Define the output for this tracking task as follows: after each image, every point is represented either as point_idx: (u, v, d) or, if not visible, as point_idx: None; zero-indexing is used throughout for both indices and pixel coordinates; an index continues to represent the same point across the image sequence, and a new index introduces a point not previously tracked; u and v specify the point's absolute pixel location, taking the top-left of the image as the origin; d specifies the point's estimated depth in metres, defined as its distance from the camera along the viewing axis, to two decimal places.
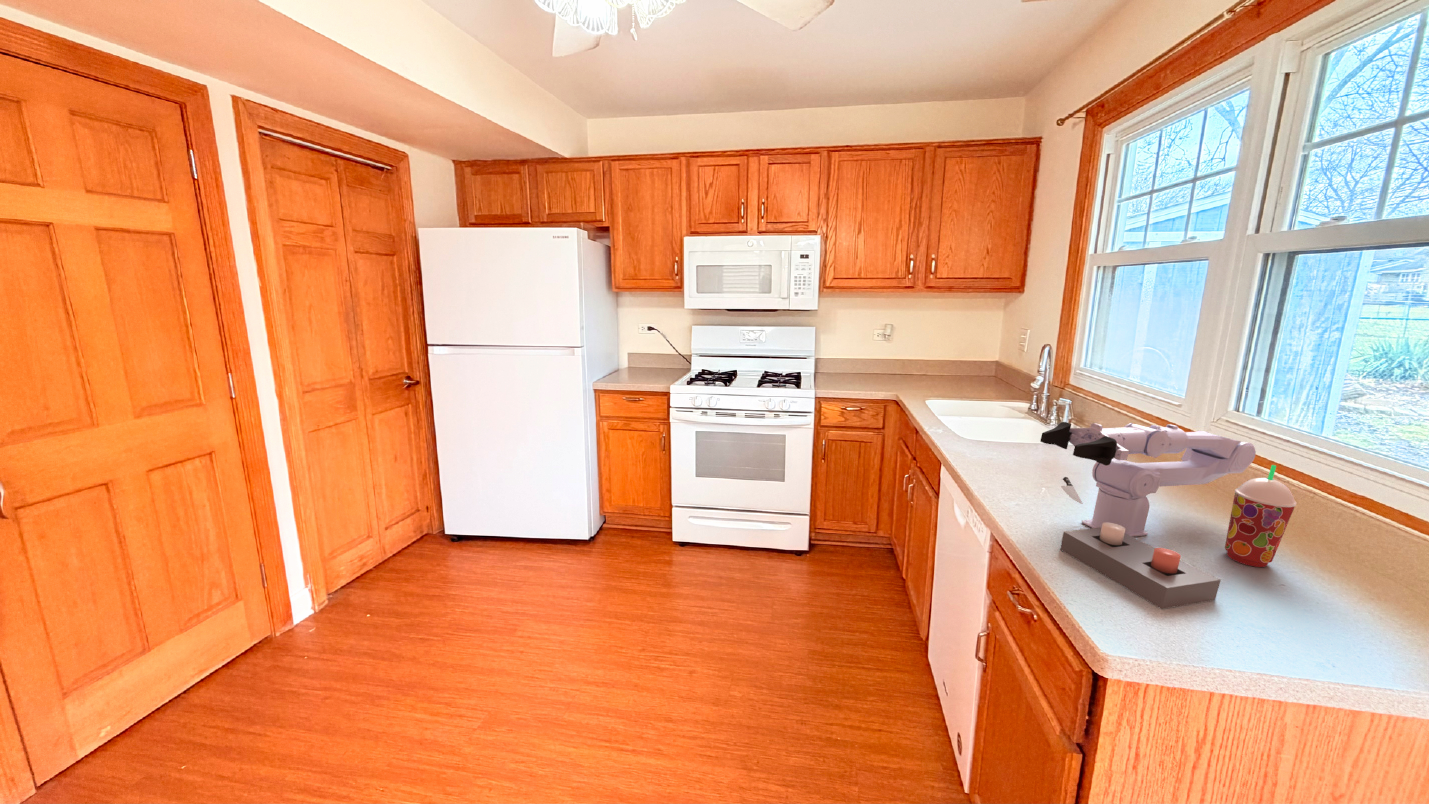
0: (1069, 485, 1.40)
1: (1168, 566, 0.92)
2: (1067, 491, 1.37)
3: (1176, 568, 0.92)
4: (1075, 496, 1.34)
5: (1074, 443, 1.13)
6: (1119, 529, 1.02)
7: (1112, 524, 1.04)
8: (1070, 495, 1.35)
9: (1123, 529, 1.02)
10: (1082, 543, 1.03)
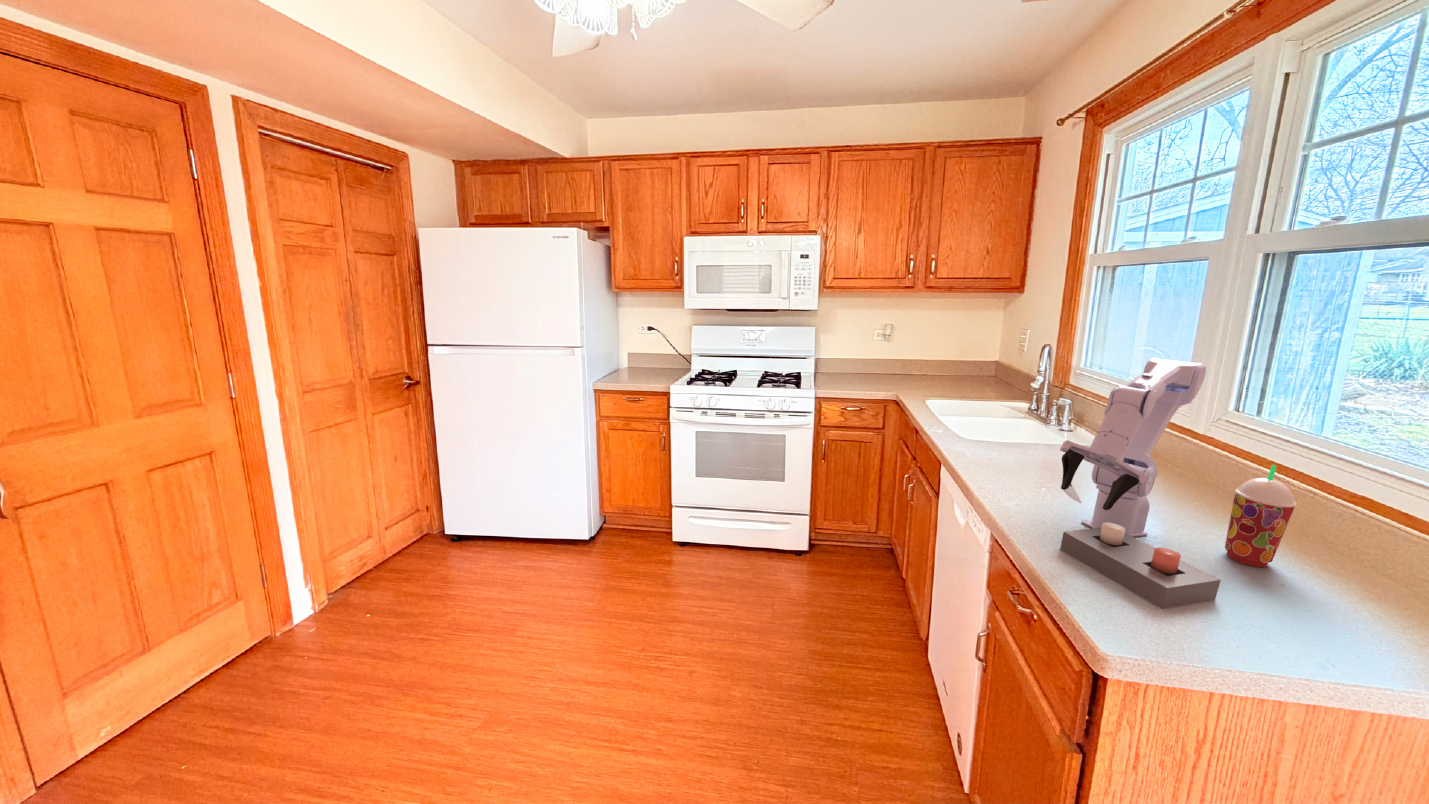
0: None
1: (1168, 566, 0.92)
2: (1067, 491, 1.37)
3: (1176, 568, 0.92)
4: (1075, 496, 1.34)
5: None
6: (1119, 529, 1.02)
7: (1112, 524, 1.04)
8: (1069, 495, 1.35)
9: (1123, 529, 1.02)
10: (1082, 543, 1.03)
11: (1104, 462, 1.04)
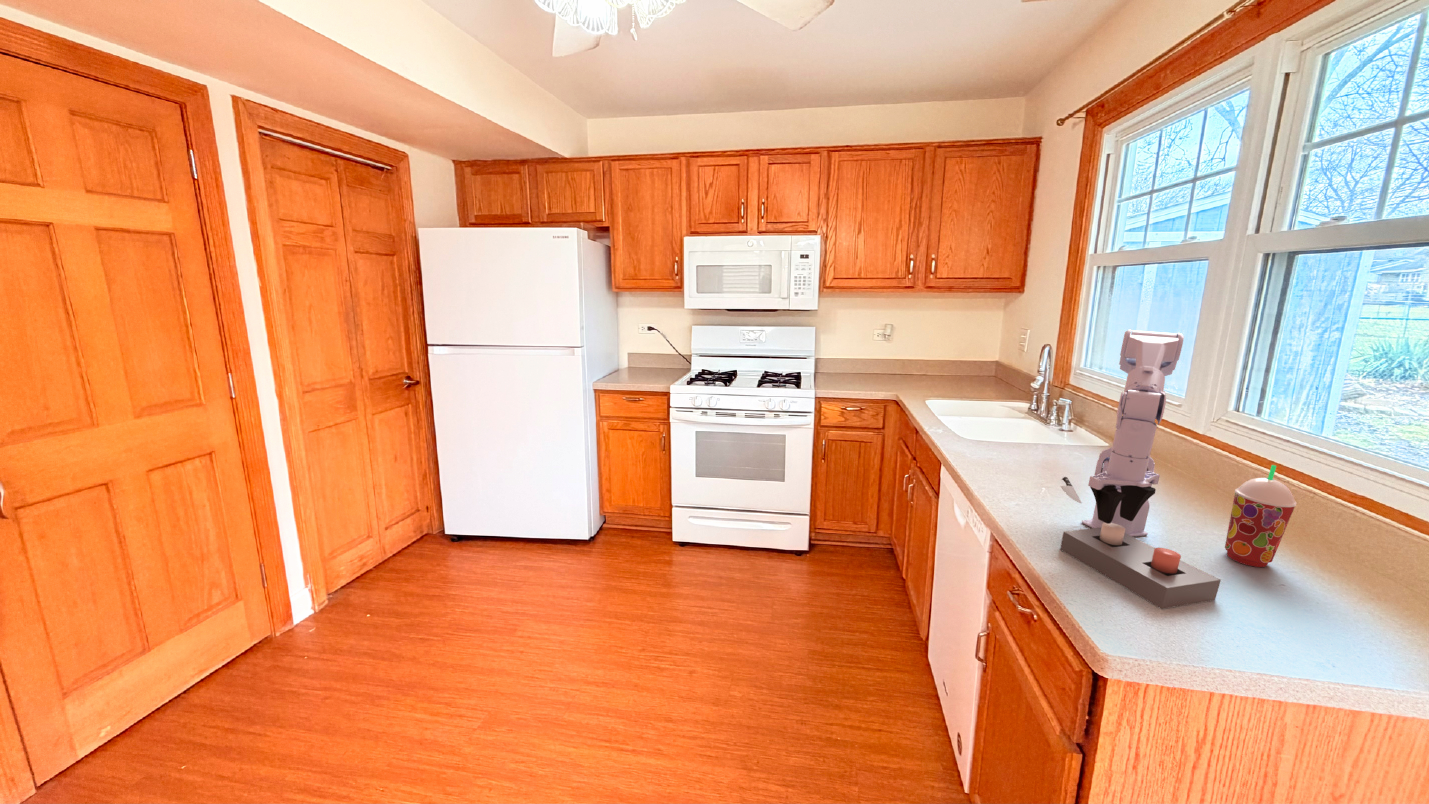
0: (1068, 485, 1.40)
1: (1168, 566, 0.92)
2: (1066, 491, 1.37)
3: (1176, 568, 0.92)
4: (1074, 495, 1.34)
5: None
6: (1119, 529, 1.02)
7: (1112, 524, 1.04)
8: (1069, 495, 1.35)
9: (1123, 529, 1.02)
10: (1082, 543, 1.03)
11: None
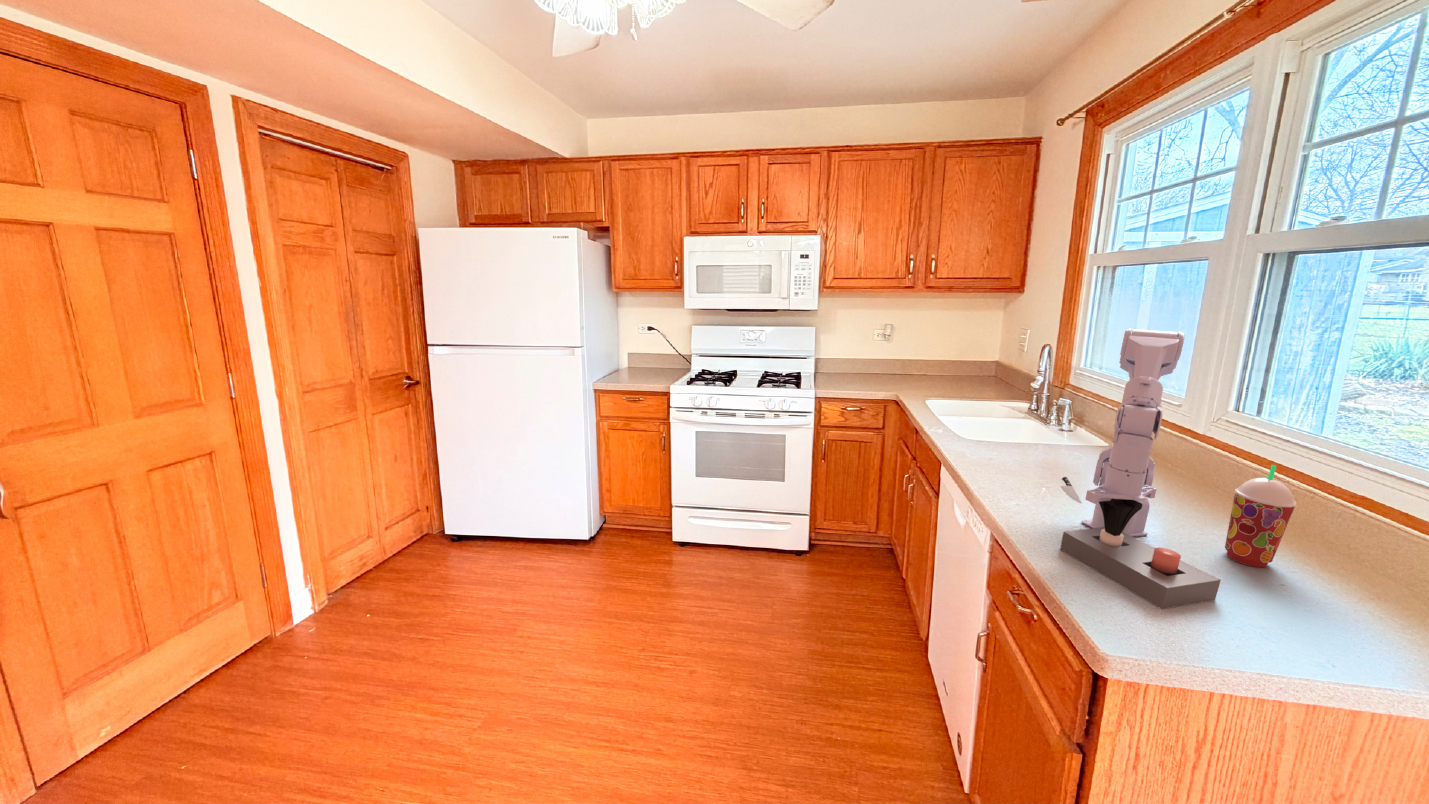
0: (1068, 485, 1.40)
1: (1168, 566, 0.92)
2: (1066, 491, 1.37)
3: (1176, 568, 0.92)
4: (1074, 495, 1.34)
5: None
6: None
7: None
8: (1069, 495, 1.35)
9: (1121, 536, 1.02)
10: (1082, 543, 1.03)
11: None
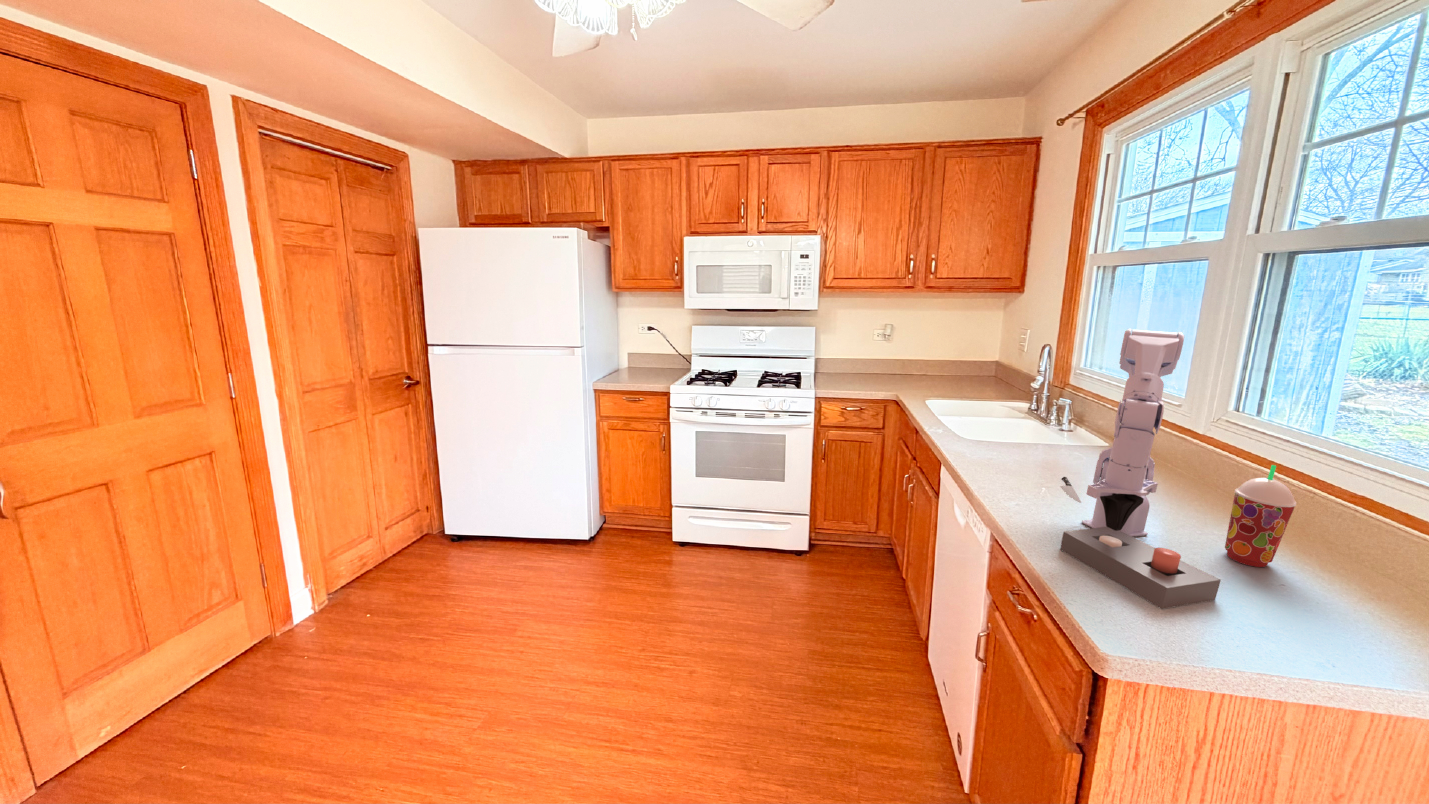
0: (1068, 485, 1.40)
1: (1168, 566, 0.92)
2: (1066, 491, 1.37)
3: (1176, 568, 0.92)
4: (1074, 496, 1.34)
5: None
6: (1116, 542, 1.02)
7: (1109, 537, 1.04)
8: (1069, 495, 1.35)
9: (1120, 542, 1.02)
10: (1082, 543, 1.03)
11: None
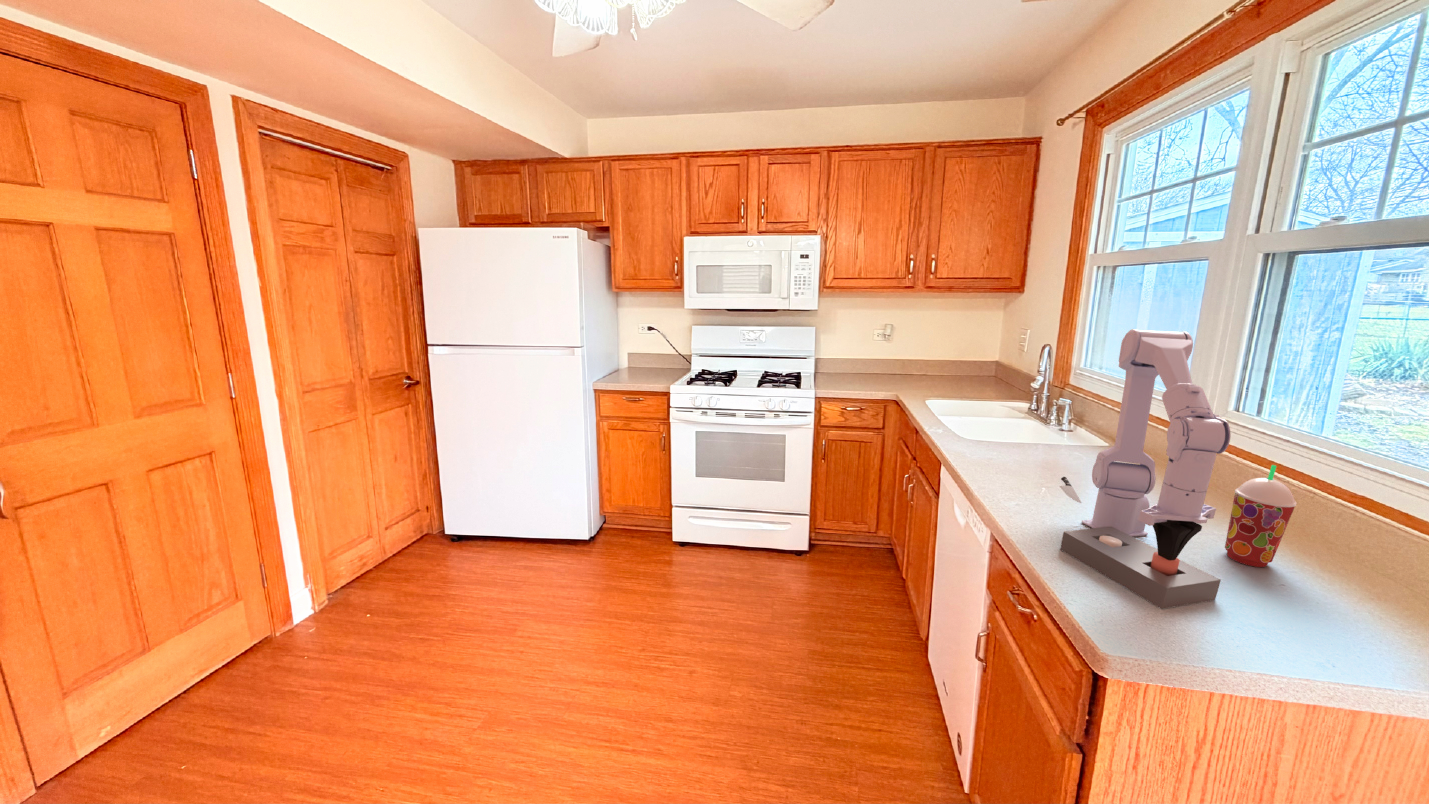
0: (1068, 485, 1.40)
1: (1166, 570, 0.92)
2: (1066, 491, 1.37)
3: (1175, 572, 0.92)
4: (1074, 495, 1.34)
5: None
6: (1116, 542, 1.02)
7: (1109, 537, 1.04)
8: (1069, 495, 1.35)
9: (1120, 542, 1.02)
10: (1082, 543, 1.03)
11: None
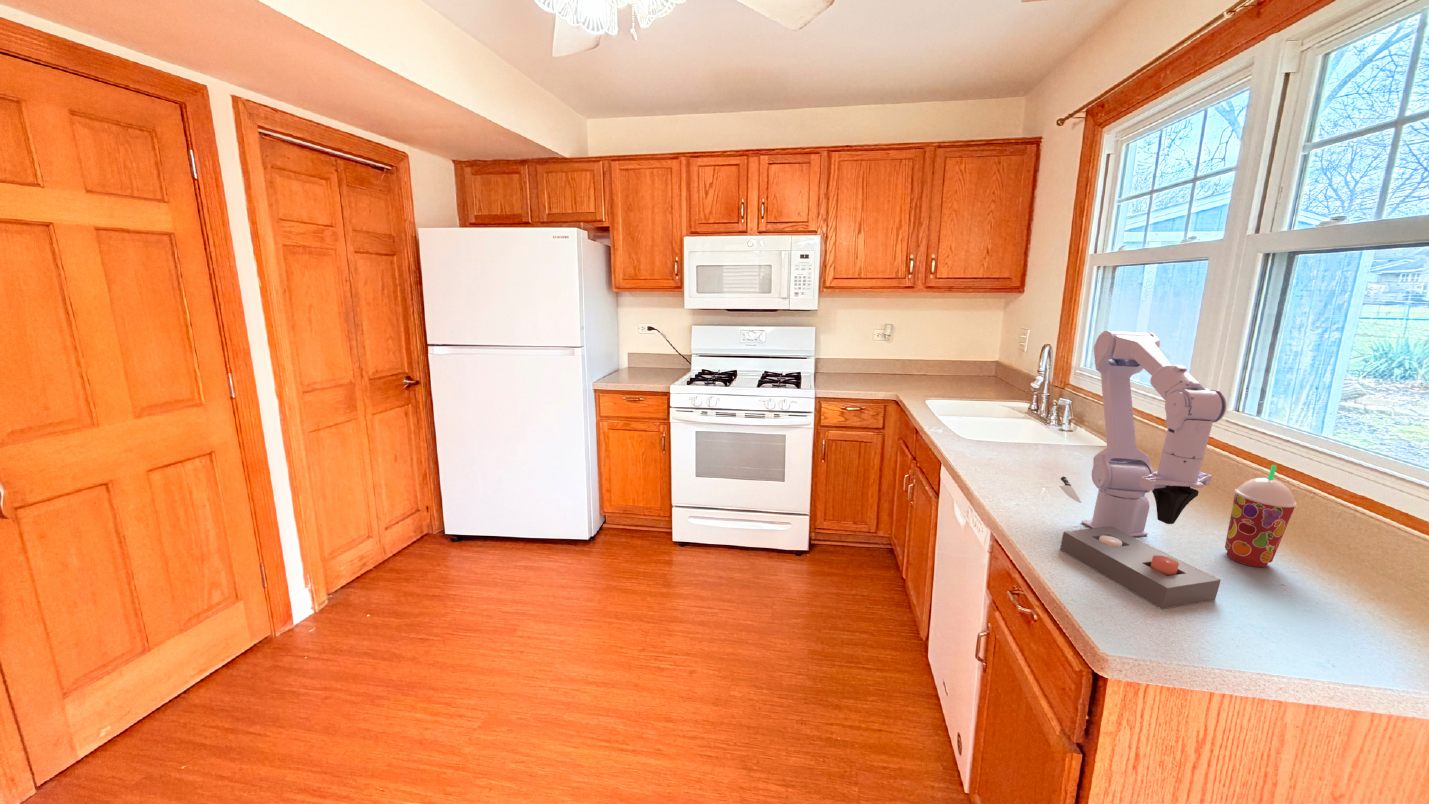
0: (1067, 485, 1.41)
1: (1165, 574, 0.93)
2: (1066, 491, 1.37)
3: None
4: (1074, 495, 1.34)
5: None
6: (1116, 542, 1.02)
7: (1109, 537, 1.04)
8: (1069, 495, 1.35)
9: (1120, 542, 1.02)
10: (1082, 543, 1.03)
11: None
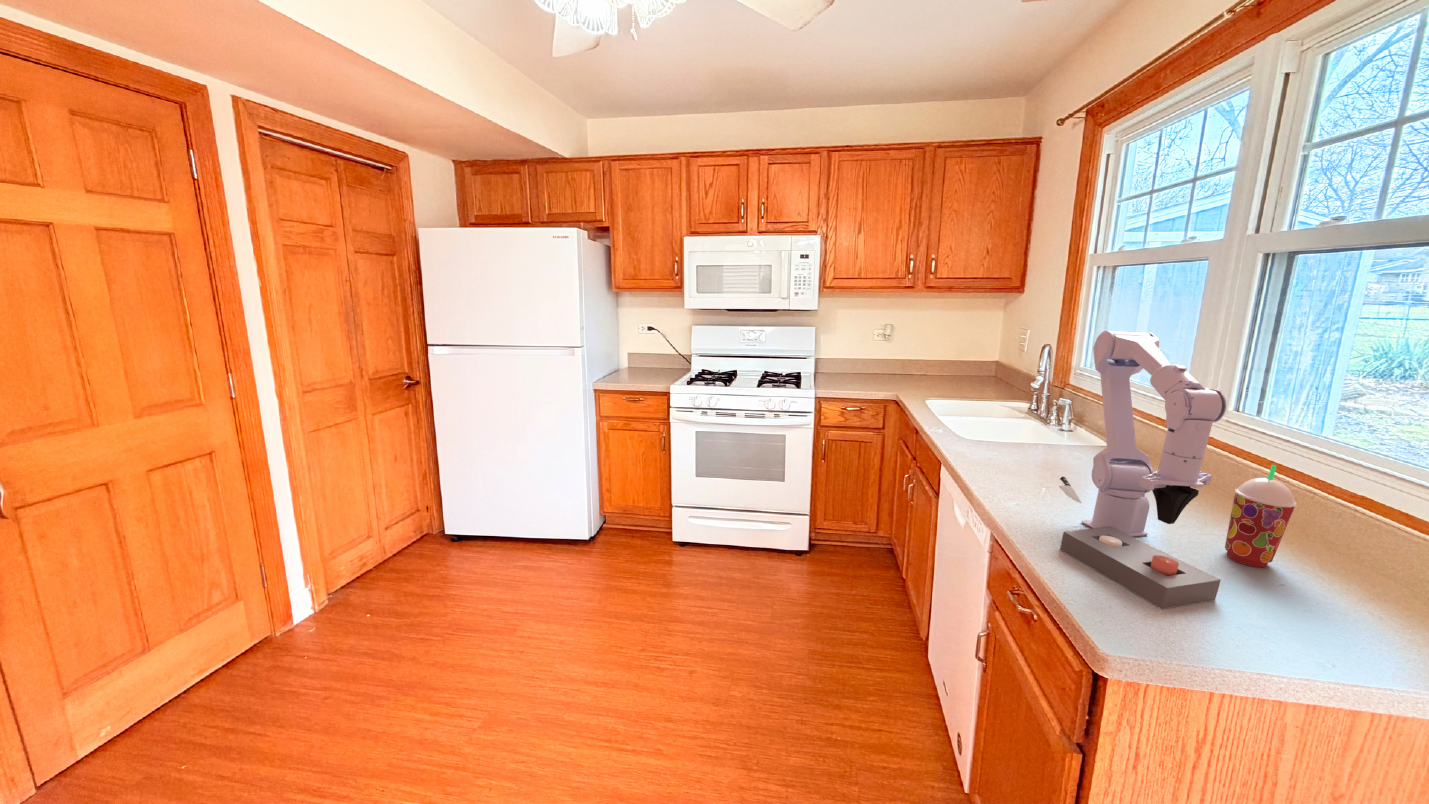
0: (1067, 485, 1.41)
1: (1165, 574, 0.93)
2: (1065, 491, 1.37)
3: None
4: (1074, 495, 1.34)
5: None
6: (1116, 542, 1.02)
7: (1109, 537, 1.04)
8: (1069, 495, 1.35)
9: (1120, 542, 1.02)
10: (1082, 543, 1.03)
11: None
